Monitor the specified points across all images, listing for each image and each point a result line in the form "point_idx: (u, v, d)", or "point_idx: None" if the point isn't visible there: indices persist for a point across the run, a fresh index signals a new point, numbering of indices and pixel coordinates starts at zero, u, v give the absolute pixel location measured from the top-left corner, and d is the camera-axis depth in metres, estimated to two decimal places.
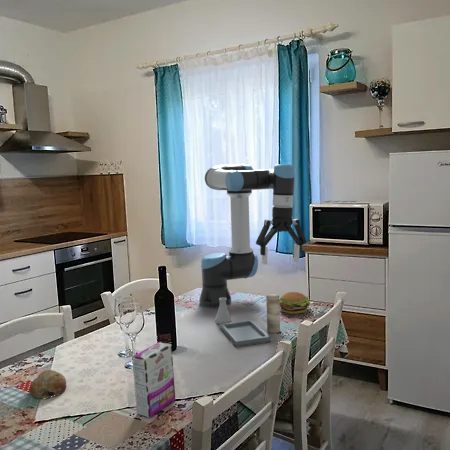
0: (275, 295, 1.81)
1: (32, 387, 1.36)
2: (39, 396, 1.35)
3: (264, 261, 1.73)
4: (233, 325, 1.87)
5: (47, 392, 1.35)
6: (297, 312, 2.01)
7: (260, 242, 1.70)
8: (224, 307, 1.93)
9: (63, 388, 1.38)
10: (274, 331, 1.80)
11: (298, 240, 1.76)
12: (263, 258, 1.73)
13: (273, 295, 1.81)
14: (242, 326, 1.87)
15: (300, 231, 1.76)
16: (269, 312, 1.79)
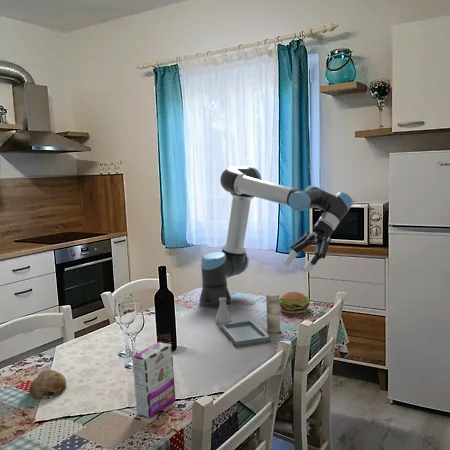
0: (275, 295, 1.81)
1: (32, 387, 1.36)
2: (39, 396, 1.35)
3: (309, 269, 1.78)
4: (233, 325, 1.87)
5: (47, 392, 1.35)
6: (297, 312, 2.01)
7: None
8: (224, 307, 1.93)
9: (63, 388, 1.38)
10: (274, 331, 1.80)
11: None
12: (309, 266, 1.78)
13: (273, 295, 1.81)
14: (242, 326, 1.87)
15: None
16: (269, 312, 1.79)
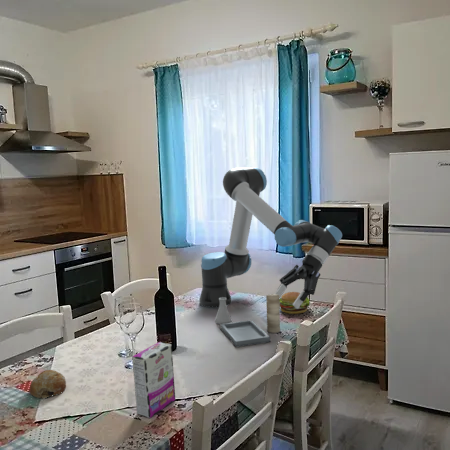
0: (275, 295, 1.81)
1: (32, 387, 1.36)
2: (39, 396, 1.35)
3: (298, 305, 1.76)
4: (233, 325, 1.87)
5: (47, 392, 1.35)
6: (297, 312, 2.01)
7: None
8: (224, 307, 1.93)
9: (63, 388, 1.38)
10: (274, 331, 1.80)
11: None
12: (298, 302, 1.76)
13: (273, 295, 1.81)
14: (242, 326, 1.87)
15: None
16: (269, 312, 1.79)
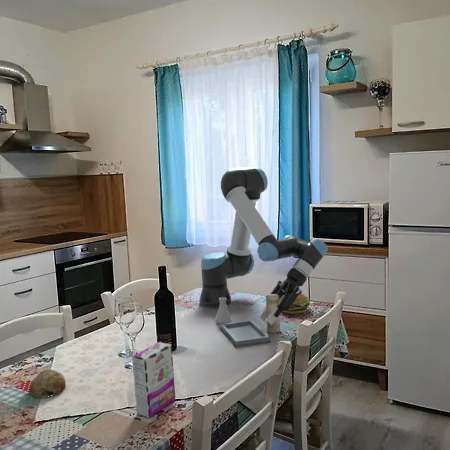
0: (275, 295, 1.81)
1: (31, 386, 1.36)
2: (38, 395, 1.35)
3: (272, 321, 1.78)
4: (233, 325, 1.87)
5: (46, 391, 1.36)
6: (297, 312, 2.01)
7: None
8: (224, 307, 1.93)
9: (62, 387, 1.38)
10: (274, 331, 1.80)
11: None
12: (272, 318, 1.78)
13: (273, 295, 1.81)
14: (242, 326, 1.87)
15: None
16: (269, 312, 1.79)
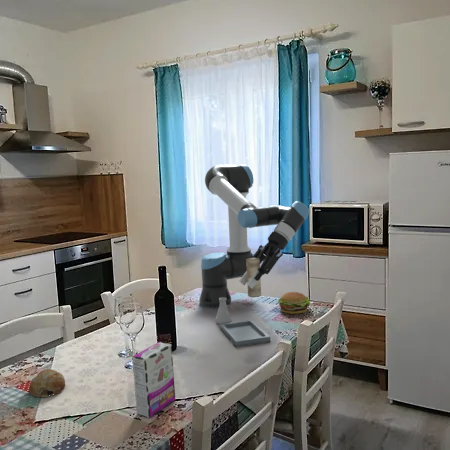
0: (255, 258, 1.76)
1: (31, 386, 1.36)
2: (38, 395, 1.35)
3: (252, 285, 1.73)
4: (233, 325, 1.87)
5: (46, 391, 1.36)
6: (297, 312, 2.01)
7: None
8: (224, 307, 1.93)
9: (62, 387, 1.38)
10: (255, 295, 1.75)
11: None
12: (252, 282, 1.73)
13: (254, 258, 1.77)
14: (242, 326, 1.87)
15: None
16: (249, 276, 1.75)
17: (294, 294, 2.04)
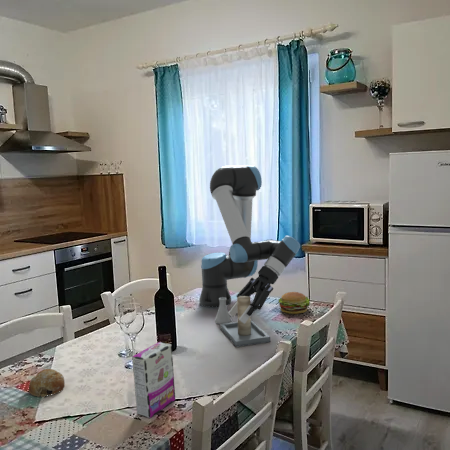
0: (246, 297, 1.78)
1: (31, 386, 1.37)
2: (37, 394, 1.36)
3: (244, 320, 1.73)
4: (233, 325, 1.87)
5: (45, 390, 1.36)
6: (297, 312, 2.01)
7: None
8: (224, 307, 1.93)
9: (61, 387, 1.39)
10: (245, 334, 1.76)
11: None
12: (245, 317, 1.73)
13: (245, 297, 1.78)
14: None
15: None
16: (239, 314, 1.76)
17: (294, 294, 2.04)
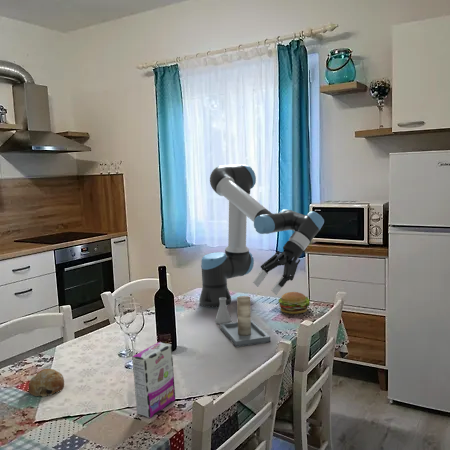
0: (246, 297, 1.78)
1: (30, 385, 1.37)
2: (37, 394, 1.36)
3: (276, 291, 1.75)
4: (233, 325, 1.87)
5: (45, 390, 1.36)
6: (297, 312, 2.01)
7: None
8: (224, 307, 1.93)
9: (61, 386, 1.39)
10: (245, 334, 1.76)
11: None
12: (277, 288, 1.75)
13: (244, 297, 1.78)
14: None
15: None
16: (239, 314, 1.76)
17: (294, 294, 2.04)
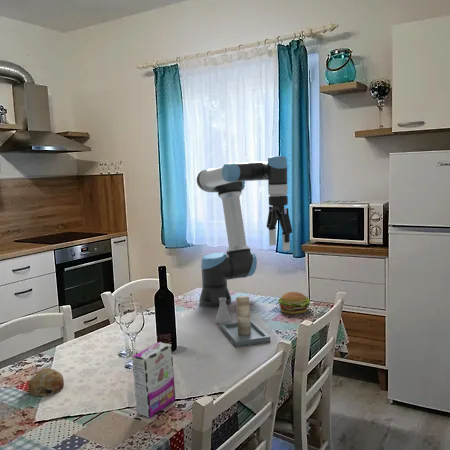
0: (245, 297, 1.78)
1: (30, 385, 1.37)
2: (37, 394, 1.36)
3: (288, 247, 1.82)
4: (233, 325, 1.87)
5: (45, 390, 1.37)
6: (297, 312, 2.01)
7: None
8: (224, 307, 1.93)
9: (61, 386, 1.39)
10: (245, 334, 1.76)
11: None
12: (286, 245, 1.82)
13: (243, 297, 1.78)
14: None
15: None
16: (239, 314, 1.76)
17: (294, 294, 2.04)
